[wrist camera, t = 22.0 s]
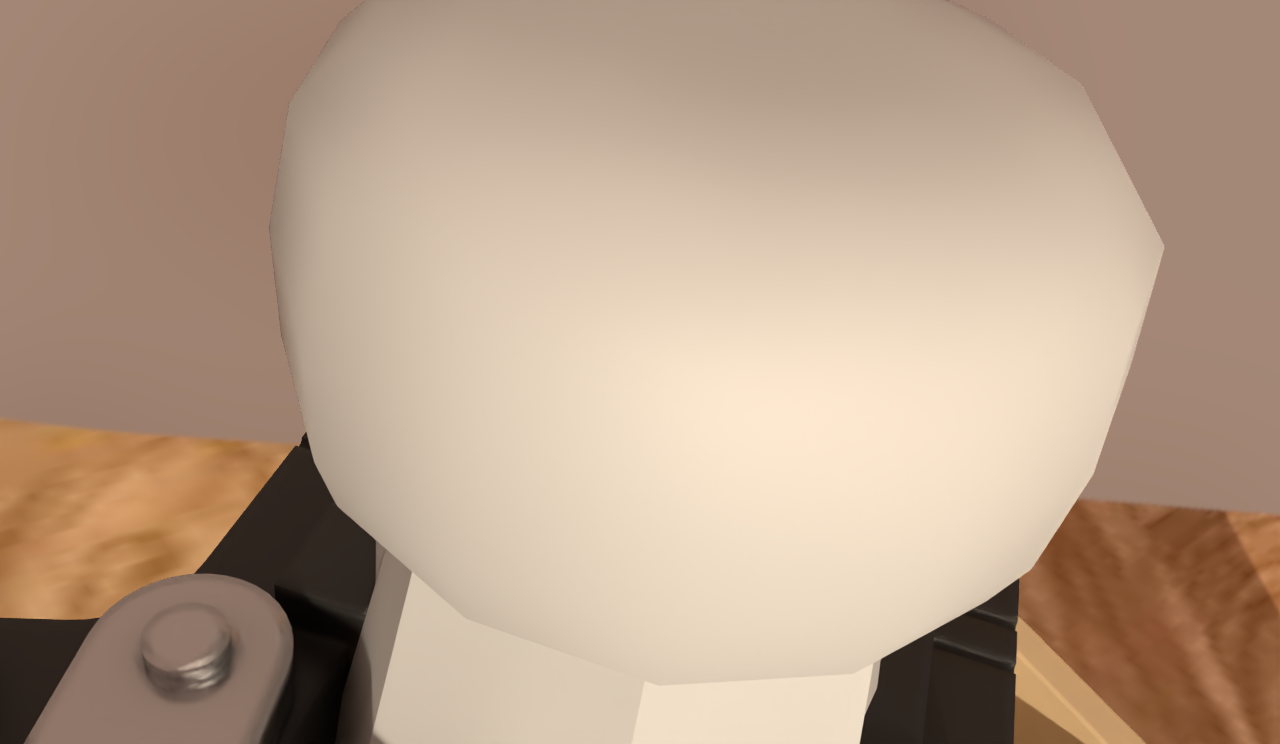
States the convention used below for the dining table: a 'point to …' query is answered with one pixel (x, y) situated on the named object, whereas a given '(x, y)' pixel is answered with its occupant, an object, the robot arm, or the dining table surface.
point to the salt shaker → (691, 349)
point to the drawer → (1059, 700)
